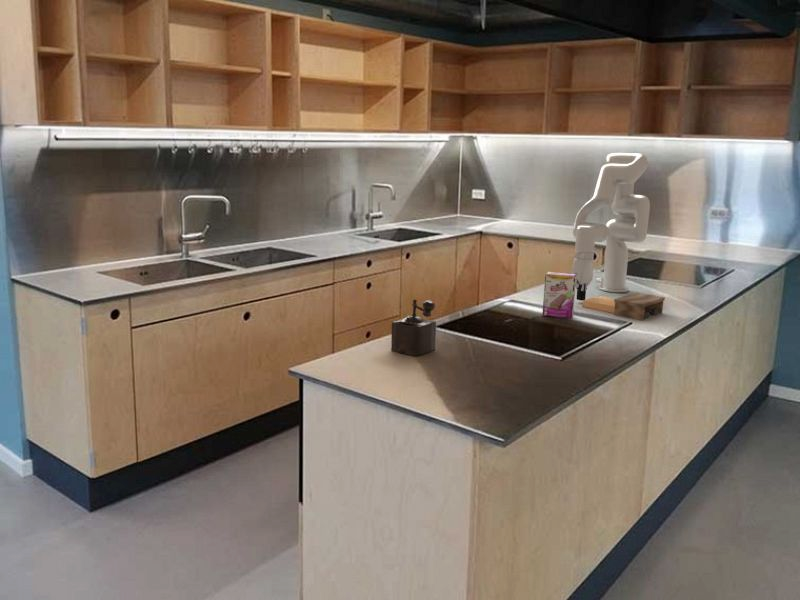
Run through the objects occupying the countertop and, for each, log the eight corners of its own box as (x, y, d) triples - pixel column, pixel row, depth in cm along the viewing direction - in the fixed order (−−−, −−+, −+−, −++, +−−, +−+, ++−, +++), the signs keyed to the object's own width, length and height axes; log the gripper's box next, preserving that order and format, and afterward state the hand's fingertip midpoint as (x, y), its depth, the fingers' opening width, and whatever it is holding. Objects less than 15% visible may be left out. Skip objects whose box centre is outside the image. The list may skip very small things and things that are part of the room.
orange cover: (582, 306, 288) (583, 300, 288) (598, 302, 297) (598, 296, 296) (614, 313, 279) (615, 306, 278) (629, 308, 287) (630, 301, 286)
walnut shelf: (613, 314, 276) (614, 299, 275) (635, 307, 288) (637, 292, 287) (641, 320, 268) (642, 304, 267) (663, 312, 280) (664, 297, 279)
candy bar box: (542, 316, 272) (544, 273, 268) (543, 313, 277) (546, 271, 273) (572, 319, 268) (575, 276, 265) (573, 316, 273) (576, 273, 269)
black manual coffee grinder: (388, 351, 226) (389, 295, 222) (410, 343, 235) (411, 289, 230) (428, 361, 217) (429, 303, 213) (449, 352, 225) (451, 296, 221)
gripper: (585, 252, 299) (582, 295, 303) (565, 256, 289) (562, 301, 293) (602, 254, 294) (598, 298, 298) (582, 258, 284) (578, 304, 288)
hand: (580, 299), depth 295 cm, fingers closed
